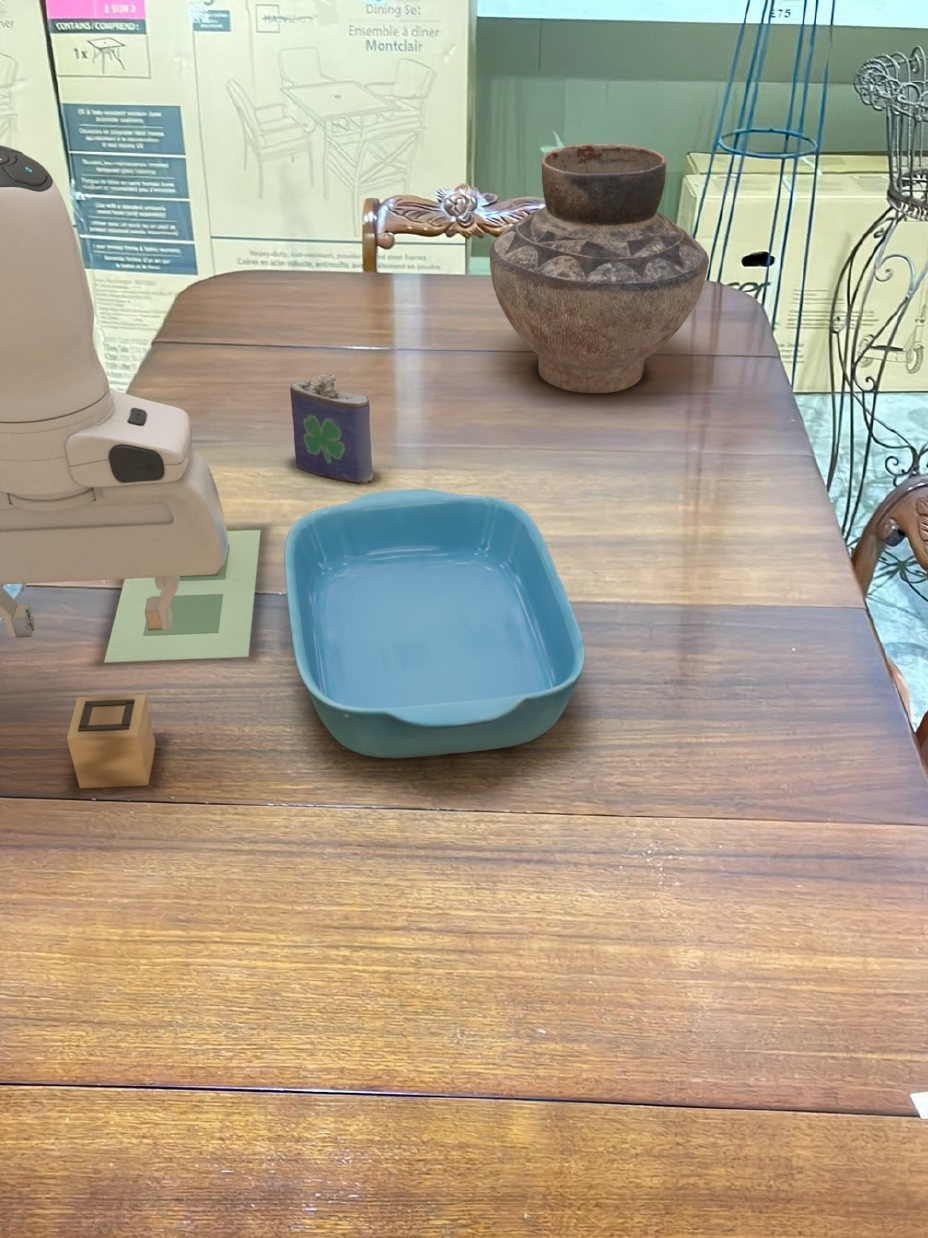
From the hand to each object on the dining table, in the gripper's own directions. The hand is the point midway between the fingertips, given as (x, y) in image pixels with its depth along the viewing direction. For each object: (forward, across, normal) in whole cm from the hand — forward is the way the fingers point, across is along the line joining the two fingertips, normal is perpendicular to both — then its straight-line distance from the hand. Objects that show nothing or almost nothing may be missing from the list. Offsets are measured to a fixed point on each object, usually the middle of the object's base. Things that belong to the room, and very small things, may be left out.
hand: (92, 629), depth 87 cm
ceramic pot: (+13, +47, +73) cm, 87 cm away
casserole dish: (+13, +24, +13) cm, 30 cm away
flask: (+12, +16, +48) cm, 52 cm away
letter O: (+12, 0, 0) cm, 12 cm away
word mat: (+12, +3, +25) cm, 28 cm away
